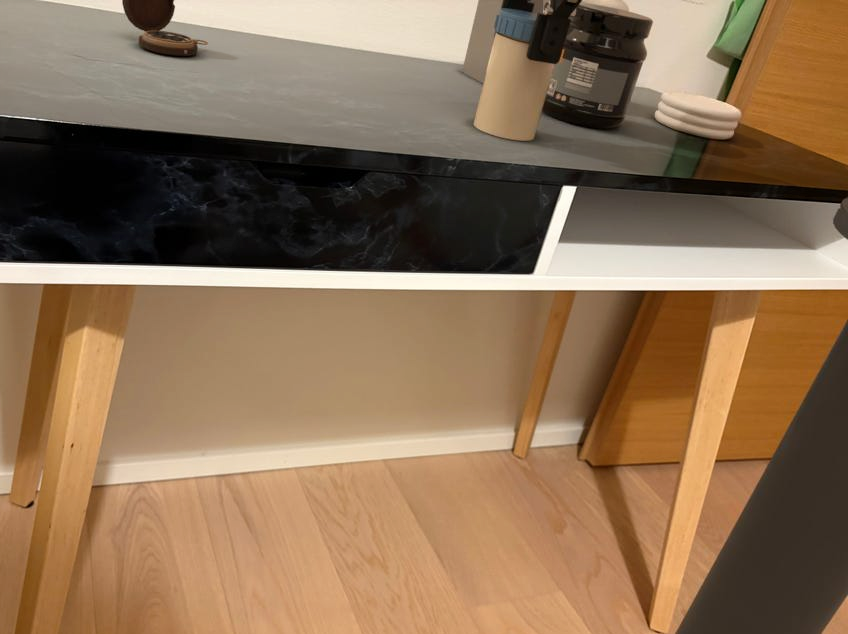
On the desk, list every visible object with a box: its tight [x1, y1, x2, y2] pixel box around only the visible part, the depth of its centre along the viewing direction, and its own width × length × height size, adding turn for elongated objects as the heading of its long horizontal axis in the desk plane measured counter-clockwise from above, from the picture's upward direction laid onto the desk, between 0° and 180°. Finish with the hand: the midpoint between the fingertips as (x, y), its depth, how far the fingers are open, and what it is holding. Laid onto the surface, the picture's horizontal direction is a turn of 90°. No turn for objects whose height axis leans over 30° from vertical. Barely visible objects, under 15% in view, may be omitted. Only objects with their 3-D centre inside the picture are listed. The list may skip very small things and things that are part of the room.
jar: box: [473, 32, 555, 142], centre depth 80 cm, size 6×6×11 cm
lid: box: [494, 8, 568, 44], centre depth 78 cm, size 7×7×2 cm
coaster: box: [654, 90, 742, 141], centre depth 102 cm, size 10×10×4 cm
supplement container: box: [542, 2, 654, 130], centre depth 93 cm, size 10×10×12 cm
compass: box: [121, 0, 209, 57], centre depth 85 cm, size 8×8×7 cm
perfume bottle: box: [461, 0, 543, 84], centre depth 102 cm, size 7×7×18 cm
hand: (524, 50), depth 79 cm, fingers open, 8 cm apart
